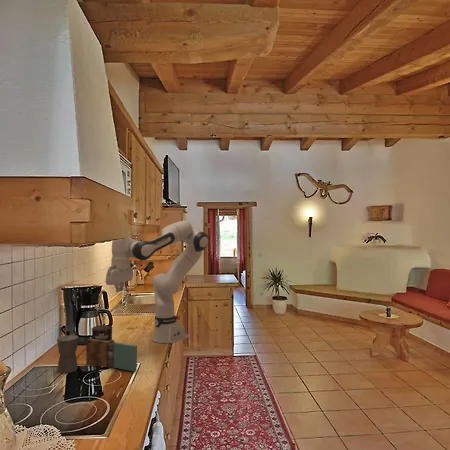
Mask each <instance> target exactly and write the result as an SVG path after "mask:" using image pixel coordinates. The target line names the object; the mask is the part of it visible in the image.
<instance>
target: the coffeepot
mask: <svg viewBox="0 0 450 450" xmlns="http://www.w3.org/2000/svg"><path fill="white" fill-rule="evenodd" d="M79 340H80V334H79V332H77V331H76V332H73V333H72V334H71V331H68V330H67V331H66V335H61V336H59V337H58V338H57V346H58V347H57V348H58V354H59V358H58V362H57V369H56V372H57V373H58V374H63V375H64V374H70V373H75V372H76V371H77V370H78V367H79V366H78V359H77V354H76V352H77V349H78V344H79Z"/></svg>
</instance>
